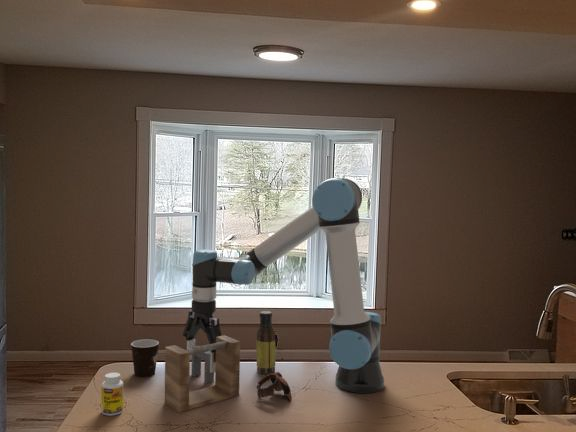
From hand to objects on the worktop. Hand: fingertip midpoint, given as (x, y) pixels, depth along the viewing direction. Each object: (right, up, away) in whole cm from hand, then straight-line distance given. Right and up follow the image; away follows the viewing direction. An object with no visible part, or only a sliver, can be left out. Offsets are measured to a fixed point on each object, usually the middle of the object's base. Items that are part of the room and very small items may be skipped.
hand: (202, 365), depth 178 cm
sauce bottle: (+20, -4, +8) cm, 22 cm away
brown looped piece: (+23, -6, -14) cm, 28 cm away
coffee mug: (-20, -4, +1) cm, 20 cm away
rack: (+3, -5, -17) cm, 18 cm away
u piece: (0, -4, 0) cm, 4 cm away
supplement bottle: (-20, -6, -27) cm, 34 cm away
